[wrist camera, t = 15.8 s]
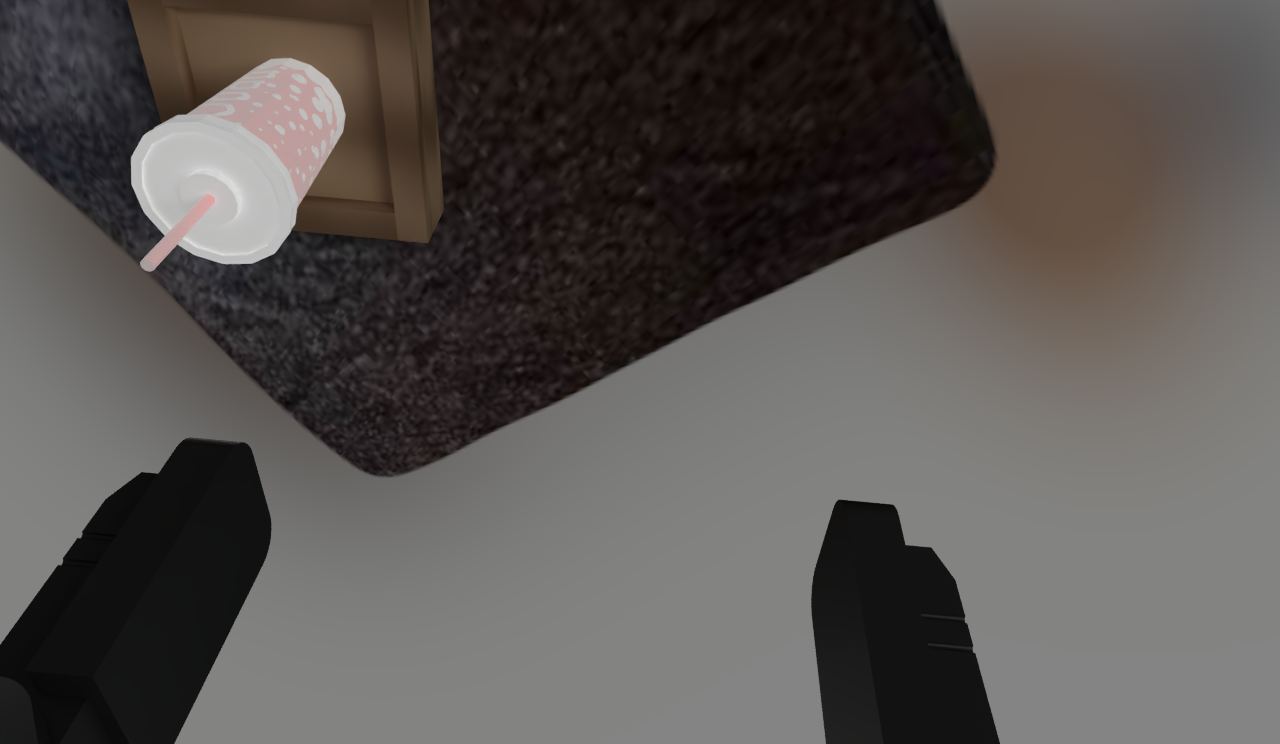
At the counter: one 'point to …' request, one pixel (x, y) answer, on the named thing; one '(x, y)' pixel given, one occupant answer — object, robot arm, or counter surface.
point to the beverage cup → (238, 164)
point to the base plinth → (357, 68)
